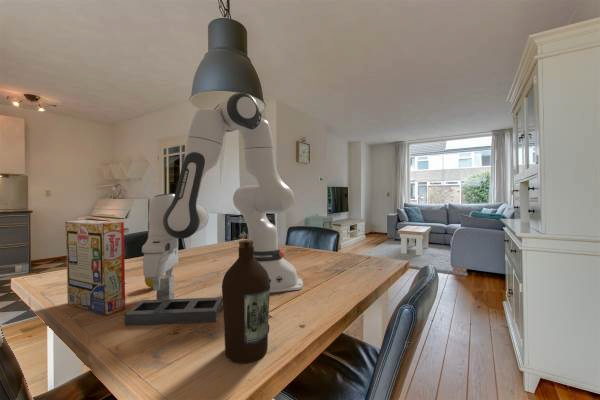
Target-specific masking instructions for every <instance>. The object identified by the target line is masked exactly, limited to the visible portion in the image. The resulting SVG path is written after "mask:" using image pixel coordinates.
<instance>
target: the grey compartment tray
mask: <svg viewBox="0 0 600 400" xmlns="http://www.w3.org/2000/svg"><path fill="white" fill-rule="evenodd" d="M222 310H223V298H222V296H218V297H195V298H194V297H193V298H192V297H191V298H189V297H188V298H173V299H160V300H157V299H142V300H141V301H140V302H138V303H137V304H136V305H134V306H133V307H132V308H131V309H129V310H128V311H127V312H126V313H124V326H125V327H127V326H147V325H167V324H168V325H171V324H172V325H173V324H191V323H192V324H193V323H216V322H217V320H218V318H219V315H220V313H221V311H222Z"/></svg>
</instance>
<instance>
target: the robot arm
mask: <svg viewBox="0 0 600 400" xmlns="http://www.w3.org/2000/svg"><path fill="white" fill-rule="evenodd" d="M235 131H239V132H240V134H241V135H242V140H243V151H244V162H245V169H246V171H247V172H248V173H249V174H250V175H252V176H253V177H255V179H256V180H257V182H258V184H253V185H252V184H251V185H250V184H249V185H248V184H247V185H244V186H241V187H237V188H236V190H235V191H234V193H233V197H232V200H233V201H232V202H233V204H234V207H235V208H236V210H237V211H239V212H240V214H241V215H242V217H243V219H244V221H245V223H246V226H247V232H248V240H252V241H253V247H254V258H255V259H256V260H257V261H258V262H259V263H260V264H261V265H262V266H263V267H264V269H265V270H266V271H267V273H268V276H269V279H270V294H272V293H281V292H288V291H289V292H290V291H299V290H301V289H302V288H303V287H304V282H303V279H302V278H301V277H299V276H298V273H297V269H296V267H295V266H294V265H293V264H292V263H291V262H289V261H288V260H286V259H284V256H285V253H284V251H283V249H281V248H279V247H278V246H279V245H278V241H279V240H278V235H279V234H278V229H277V227H276V226H275V224H273V223H272V222H271V221H270V220H269V219H268V217H267V214H271V215H272V214H277V215H279V214H284V213H287V212H289V211H291V210H292V209H293V207H294V205H295V199H296V198H295V193H294V191H293V189H292V188H291V187H289V186H288V185H287V184H286V183H285V182H284V181H283V180H282V178H281V176H280V174H279V173H278V172H279V171H278V170H277V165H276V159H275V158H276V157H275V149H274V147H275V146H274V139H273V138H274V137H273V133H272V128H271V126H270V123H269V121H267V120H266V119H265V118H262V112H261V111H260V108H259V104H258V102H257V101H256V99H255V98H254V97H253V95H251V94H249V93H245V92H236V93H233V94H232V95H230V96H228V97H226V98H225V99H223V101H222V102H220V103H219V104H217V106H216V107H214V109H213V108H211V107H203V108H199V109H198V110H196V111H195V113H194V116H193V119H192V120H191V123H190V127H189V131H188V135H187V141H186V147H185V153H184V158H183V161H182V162H183V163H182V166H181V169H180V173H179V177H178V181H177V186H176V187H175V193H162V194H156V195H154V196H153V197H152V198H151V199H150V201H149V208H148V224H149V230H148V234H147V240H146V241H145V243H144V244H143V245H142V246H141V253H142V254H143V259H142V266H143V267H142V270H143V273H142V274H143V276H144V280H145V279H151V281H152V283H153V289H152V290H153V291H157V290H159V289H160V288H161V283H160V276H161V275H173V273H174V267H176V265H178V264H179V240H183V239H187V238H190V237H192V236H193V235H194V234H196V233H198V232H200V231H201V230H203V229H204V228H205V227H206V226H207V224H208V223H209V214H208V211H207V209H206V208H205V207H203V206H201V205H199V204H198V203H197V202H198V198H199V194H200V190H201V185H202V182H203V178H204V176H205V175H206V174H207V173H208V172H209V171H210V170H211V169H212V168H214V167H215V166H216V165H217V164H218V161H219V159H220V157H221V153H222V148H223V144H224V137H225V135H226V133H227V132H228V133H229V132H235Z"/></svg>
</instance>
